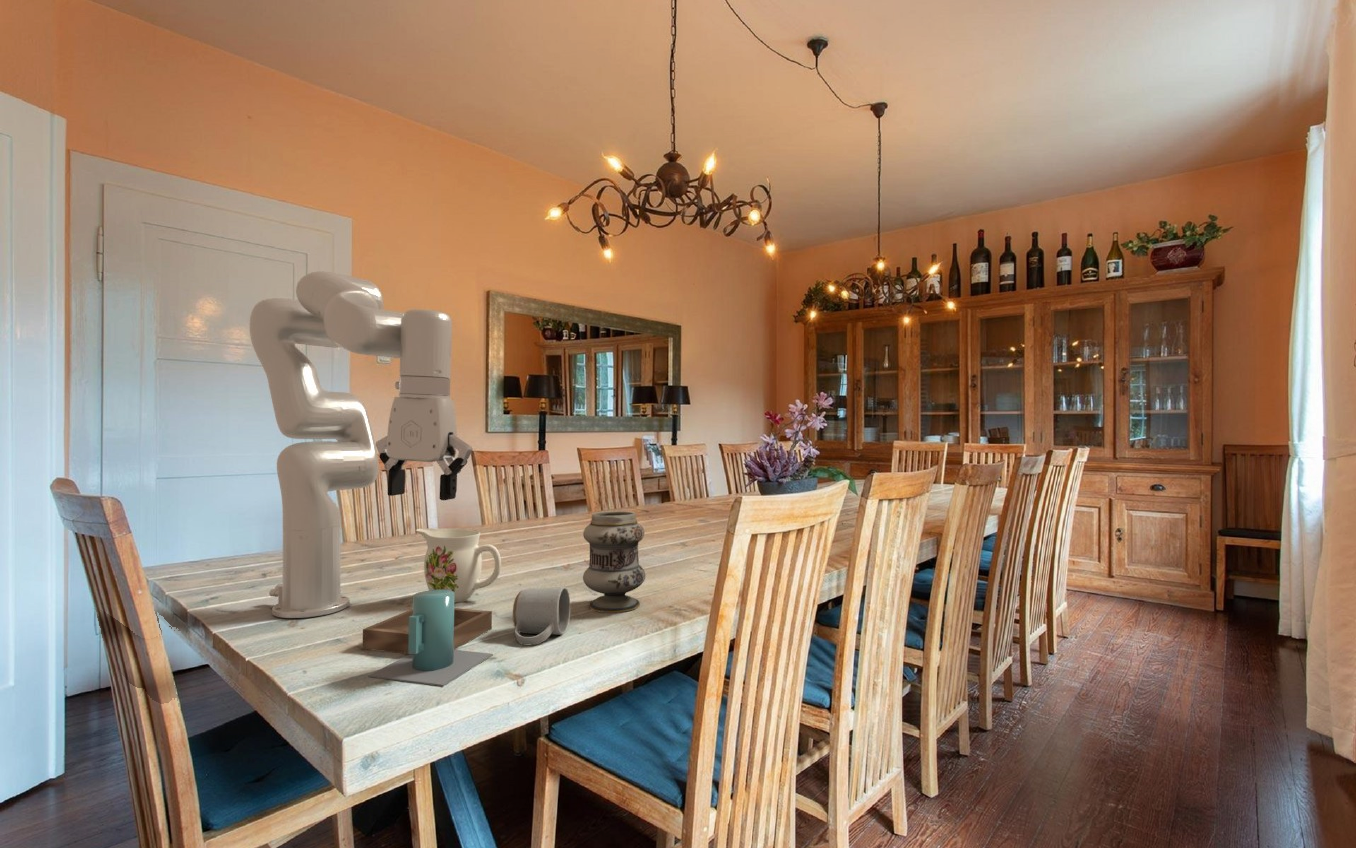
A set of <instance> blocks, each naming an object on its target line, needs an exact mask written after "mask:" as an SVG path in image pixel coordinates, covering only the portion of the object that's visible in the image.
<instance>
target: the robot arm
mask: <svg viewBox="0 0 1356 848" xmlns="http://www.w3.org/2000/svg"><path fill="white" fill-rule="evenodd" d="M295 292H296V293H295V295H296V297H297V299H291V298H279V297H277V298H276V297H275V298H266V299H262V300H260V301H258V302H257V303H256V304H255V305H254V306H253V308H252V310H251V314H250V317H249V336H250V341H251V344H252V348H253V350H254V353H255V354H256V357H257V359H258V360H259V363H260V365H262V369H263V370H264V373H265V376H266V379H267V383H268V387H269V392H270V398H271V402H272V407H273V413H274V416H275V417H274V418H275V420H276V424H277V427H278V430H279V431H280V433H281V434H282V435H283V436H284V437H287V438H290V439H292V440H293V439H294V440H321V441H304V442H303V441H302V442H297V443H294V444H290V445H288V446H286V447H285V448H284V449H283V450H281V452H279V455H278V456H277V458H276V472H277V479H278V482H279V489H280V493H281V505H282V506H281V507H282V583H279V584H277V585H275V587H274V588H272V589H270V591H269V596H270V597H276V598H278V601H277V602H278V603H276V604H275V605H273V607H272V609H271V610H272V612H271V613H272V615H273V616H275V617H277V618H282V619H283V618H284V619H305V618H306V619H307V618H314V617H319V616H325V615H330V614H334V613H336V612H337V613H338V612H339V611H342V610H345V609H346V608H348V607H349V605H350V598H349V597H348V596H346V595H342V594H341V567H342V566H341V561H342V560H341V559H342V557H341V556H342V554H341V549H342V548H341V543H342V542H341V541H342V539H341V537H342V534H341V533H342V532H341V531H342V530H341V529H342V527H341V526H342V525H341V523H342V520H341V519H342V518H341V516H342V515H341V512H340V509H339V507H338V506H337V504H336V503H335V502H334V500H333V499H332V498H331V496H330V495H329V493H328V492H334V491H345V490H357V489H363V488H366V487H369V486H371V485H372V484H374V482H375V481H376V479H378V475H379V470H380V463H379V459H380V461H381V462H382V463H383V465H384V469H385V471H387V495H388V496H390V497H393V496H399V495H403V494H405V492H406V469H403V467H404V466H405V465H406V463H407V462H420V463H423V462H424V463H435V462H436V463H437V465H438V466H439V467H440V469H441V470H442V472H443V474H440V477H439V500H440V501H449V500H455V499H456V495H457V494H456V493H457V489H458V474H460V473H461V472H462V469H464V467H465V466H466V465H467V464H468V460H469V458H470V457H471V454H472V453H473V450H474V449H473V447H472V446H471V445H470V444H468V443H467V442H465V441H463V439H461V438H459V437H458V436H457V435H458V433H457V419H456V418H457V417H456V411H455V410H456V409H455V404H454V401H453V400H454V399H453V398H452V399H451V372H452V371H451V368H452V367H451V366H452V342H453V340H452V339H453V338H452V337H453V322H452V319H451V316H449V315H448V313H445V312H442V311H438V310H434V309H433V310H432V309H419V308H417V309H416V308H415V309H414V308H413V309H409V310H406V311H405V312H399V311H395V310H388V309H383V308H384V297H383V294H382V292H381V290H380V288H379V287H378V285H376V284H375V283H374V282H372V281H370V280H367V279H365V278H359V277H355V276H349V275H344V274H340V273H334V272H330V271H312V272H310V273H307V274H305V275H304V276H302V277H301V278H300V279H299V281H298V282H297V283H296V287H295ZM295 344H297V345H298V344H299V345H305V346H306V345H307V346H315V347H321V348H322V347H323V348H324V347H325V348H336V349H337V348H342V349H344V350H346V351H349V352H350V353H351V352H352V353H354V354H358V355H363V356H364V355H365V356H376V357H386V358H393V359H399V379H398V381H396V382H395V384H394V386H395V389H396V390H398V393H399V394H398V396H394V398H393V401H392V405H391V408H390V413H389V418H388V427H387V436H384V437H382V438H380V439H379V440H376V442H375V439H374V438H375V437H374V435H373V431H372V425H371V423H370V418H369V414H368V411H367V408H366V406H365V404H364V403H363V400H361V399H360V398H359V397H358V396H356V395H355V394H353V393H349V392H345V391H344V392H342V391H328V390H327V391H326V390H325V389H323V388H322V386H321V384H320V380H319V376H318V375H319V374H318V371H317V368H316V367H315V365H314V364H313V362H311V360H310V359H309V358H308V356H307V355H305V354H304V352H302V351H301V350H299V349H298V348H297V347H296V345H295ZM323 440H328V441H323ZM329 440H331V441H329ZM332 440H336V441H332ZM457 451H458V455H457V457H456V454H457ZM378 454H379V455H378Z"/></svg>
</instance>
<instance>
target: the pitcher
mask: <svg viewBox="0 0 1356 848" xmlns="http://www.w3.org/2000/svg"><path fill="white" fill-rule="evenodd" d="M415 532H416V533H418V534H419V535H421V536H423V539H424V540H425V543H426V546H427V549H426V551H425V555H424V562H423V563H424V564H423V571H424V578H425V583H426V586H427V588H428V590H451V591H453V592H454V604H456V602H457V603H462V602H466V601H468V600H470V599H471V598H472V596H473V594H475V592H476V591H477V590H479V589H482V588H483V589H484V588H485V587H488V586H490V585H491V584H493V583H494V582H495V581H496V580H497V579H498V578H499V575H500V573H501V569H502V558H501V554H500V552H499V550H498V549H497V547H495V545H492V544H484V545H481V546H479V542H480V541H479V540H480V537H481V531H480V530H477V529H469V528H468V529H467V528H417V529H415ZM483 552H490V553H491V554H492V557H493V559H494V569H493V571H492V574H491V575H490V576H489V577H487V578H486V579H485V580H480V579H481V575H482V569H483V568H482V567H483V557H482V553H483Z"/></svg>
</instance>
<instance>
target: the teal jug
mask: <svg viewBox="0 0 1356 848" xmlns="http://www.w3.org/2000/svg"><path fill="white" fill-rule="evenodd" d="M454 608H455V603H454V592H453V591H451V590H429V589H428V590H422V591H419V592H416V593H414V594H413V595H412V609H413V615H412V616H410V617H409V631H408V632H409V651H408V653H411V654H412V667H413V668H414V669H416V670H420V671H433V670H439V669H443V668H446V667H448V666H450V665H451V664H453V661H454Z"/></svg>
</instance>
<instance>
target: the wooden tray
mask: <svg viewBox="0 0 1356 848" xmlns="http://www.w3.org/2000/svg"><path fill="white" fill-rule="evenodd" d="M412 615H413V608H411V609H409V610H407V611H405V612H402V613H399V614H396V615H394V616H392V617H389V618H386V619H385V620H382V621H380V622H377V623H375V624H373V625H369V626H368V627H364V628H363V629H362V649H364V650H370V651H378V652H379V651H381V652H388V653H397V654H405V655H406V654H407V655H409V654H411V653H408V651H409V617H410V616H412ZM492 619H493V611H492V610H491V611H490V610H480V609H472V608H471V609H470V608H469V609H468V608H458V607H454V650H458V648H460V647H462V646H464V645H466V644H467V643H469V642H471V641H473V640H474V638H475V639H476V638H478V637H480V636H482V635H483V633H484V634H485V633H487V632H489V631H491V630H492V629H493V620H492ZM488 630H489V631H488ZM470 640H471V641H470Z"/></svg>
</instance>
